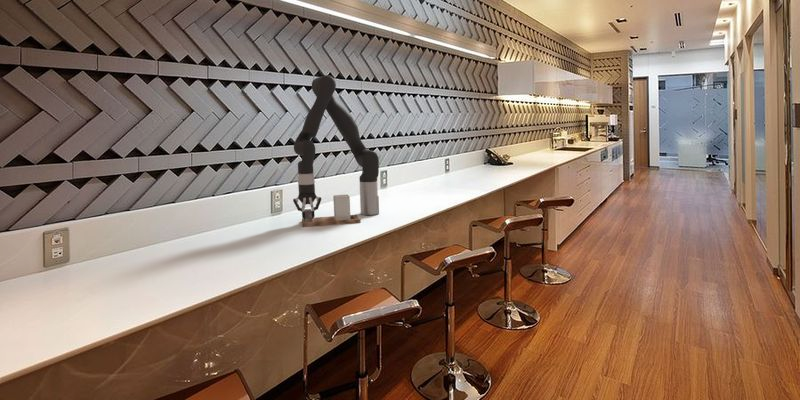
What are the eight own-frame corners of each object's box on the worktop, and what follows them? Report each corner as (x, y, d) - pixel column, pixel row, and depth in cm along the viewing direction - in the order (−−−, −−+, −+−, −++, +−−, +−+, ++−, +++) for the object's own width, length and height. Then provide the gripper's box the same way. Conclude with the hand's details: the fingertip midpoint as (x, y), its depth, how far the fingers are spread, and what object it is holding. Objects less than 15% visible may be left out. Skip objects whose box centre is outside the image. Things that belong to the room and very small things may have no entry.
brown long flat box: (356, 217, 222) (356, 204, 221) (360, 222, 210) (360, 209, 209) (301, 221, 215) (301, 208, 214) (302, 226, 204) (302, 213, 203)
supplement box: (351, 222, 212) (349, 196, 210) (335, 223, 211) (334, 197, 209) (349, 219, 220) (348, 194, 217) (334, 220, 218) (333, 195, 216)
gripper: (320, 181, 212) (322, 216, 215) (290, 182, 209) (293, 218, 212) (322, 183, 205) (324, 219, 208) (291, 184, 202) (293, 221, 205)
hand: (308, 218), depth 210 cm, fingers closed on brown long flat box, 3 cm apart
